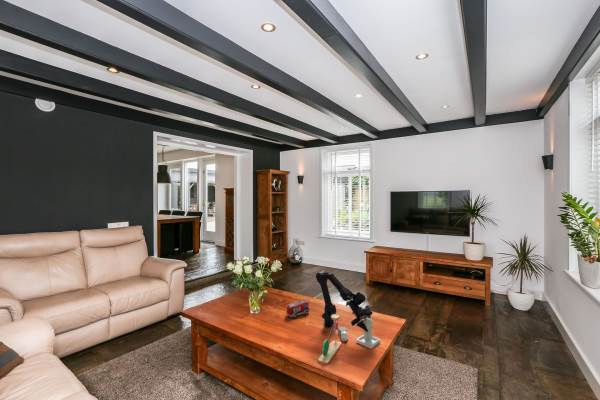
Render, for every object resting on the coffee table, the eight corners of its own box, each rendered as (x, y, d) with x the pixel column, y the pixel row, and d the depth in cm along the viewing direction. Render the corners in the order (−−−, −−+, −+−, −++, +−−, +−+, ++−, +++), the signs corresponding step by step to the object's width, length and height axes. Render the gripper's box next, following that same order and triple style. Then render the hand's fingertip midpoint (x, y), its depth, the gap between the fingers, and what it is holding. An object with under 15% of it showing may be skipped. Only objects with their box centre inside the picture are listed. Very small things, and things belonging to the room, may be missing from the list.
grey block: (340, 336, 193) (340, 330, 193) (338, 333, 198) (338, 327, 198) (347, 336, 194) (347, 330, 194) (344, 332, 199) (344, 326, 199)
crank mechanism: (332, 342, 187) (332, 313, 186) (342, 344, 183) (342, 315, 183) (317, 362, 164) (316, 329, 164) (327, 365, 161) (327, 332, 161)
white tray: (356, 342, 186) (356, 339, 186) (365, 336, 194) (365, 333, 194) (371, 348, 178) (371, 345, 178) (380, 342, 186) (380, 339, 186)
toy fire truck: (310, 313, 230) (310, 301, 230) (291, 319, 220) (290, 306, 220) (304, 310, 238) (304, 298, 238) (285, 315, 228) (285, 303, 227)
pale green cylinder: (367, 342, 182) (367, 322, 182) (362, 338, 187) (362, 318, 187) (373, 340, 184) (373, 320, 184) (369, 336, 189) (369, 317, 189)
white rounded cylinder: (341, 341, 188) (341, 334, 187) (340, 337, 192) (340, 331, 192) (348, 340, 188) (348, 334, 188) (346, 337, 192) (346, 330, 192)
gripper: (354, 306, 181) (370, 329, 174) (370, 298, 194) (385, 319, 187) (344, 314, 187) (359, 337, 180) (360, 306, 200) (374, 327, 193)
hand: (369, 330), depth 185 cm, fingers closed on pale green cylinder, 5 cm apart
